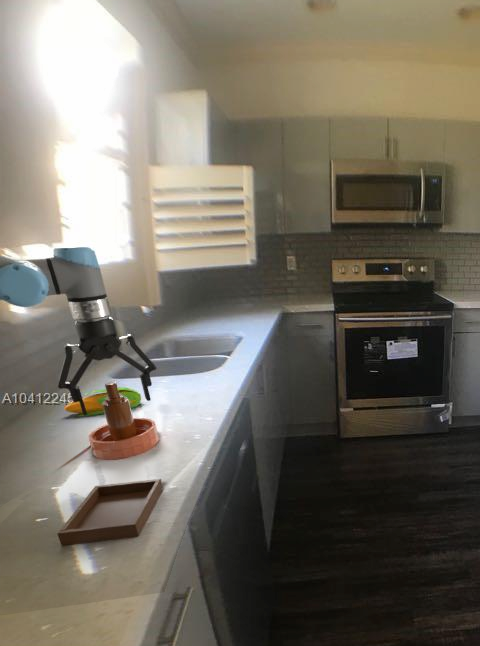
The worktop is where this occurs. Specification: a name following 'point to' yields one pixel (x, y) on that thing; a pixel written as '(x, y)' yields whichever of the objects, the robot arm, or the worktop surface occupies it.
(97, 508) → the tray
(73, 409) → the corn
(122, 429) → the bottle
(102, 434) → the bowl
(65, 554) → the worktop surface
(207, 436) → the worktop surface
